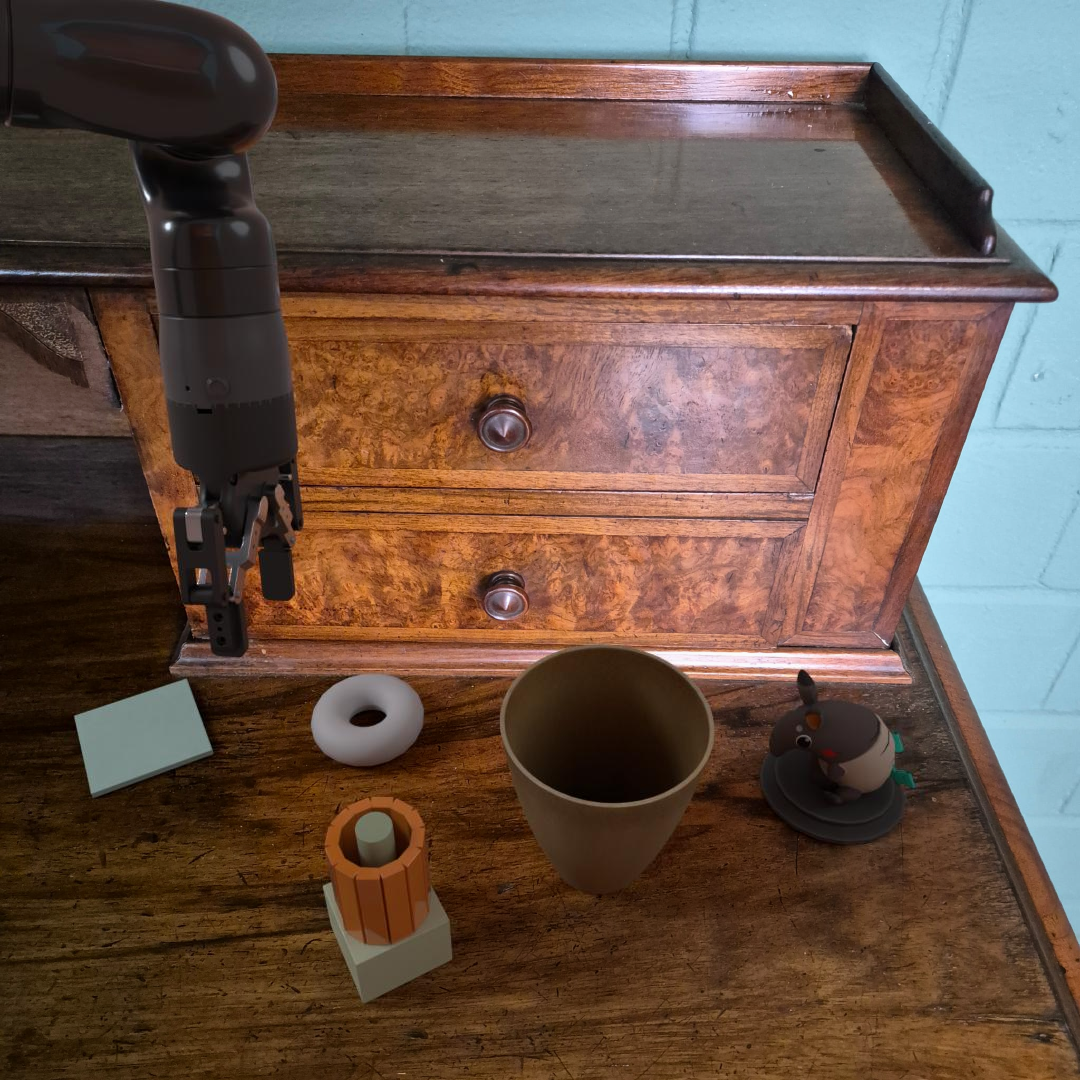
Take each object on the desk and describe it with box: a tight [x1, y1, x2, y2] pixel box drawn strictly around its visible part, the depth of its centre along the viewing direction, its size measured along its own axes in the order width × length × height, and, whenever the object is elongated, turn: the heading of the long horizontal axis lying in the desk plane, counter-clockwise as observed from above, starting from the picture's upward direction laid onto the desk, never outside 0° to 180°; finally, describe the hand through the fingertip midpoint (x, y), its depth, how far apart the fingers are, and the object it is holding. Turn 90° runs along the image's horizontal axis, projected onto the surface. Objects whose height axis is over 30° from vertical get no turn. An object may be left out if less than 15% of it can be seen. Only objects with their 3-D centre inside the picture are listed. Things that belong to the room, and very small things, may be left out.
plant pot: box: [499, 643, 715, 895], centre depth 71 cm, size 15×15×16 cm
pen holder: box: [324, 796, 432, 945], centre depth 64 cm, size 6×6×8 cm
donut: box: [310, 673, 425, 767], centre depth 85 cm, size 10×4×10 cm
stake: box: [322, 812, 453, 1005], centre depth 65 cm, size 7×7×14 cm
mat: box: [73, 678, 214, 799], centre depth 85 cm, size 10×10×1 cm
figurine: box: [758, 669, 916, 845], centre depth 77 cm, size 11×12×12 cm
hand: (256, 625), depth 64 cm, fingers open, 8 cm apart
